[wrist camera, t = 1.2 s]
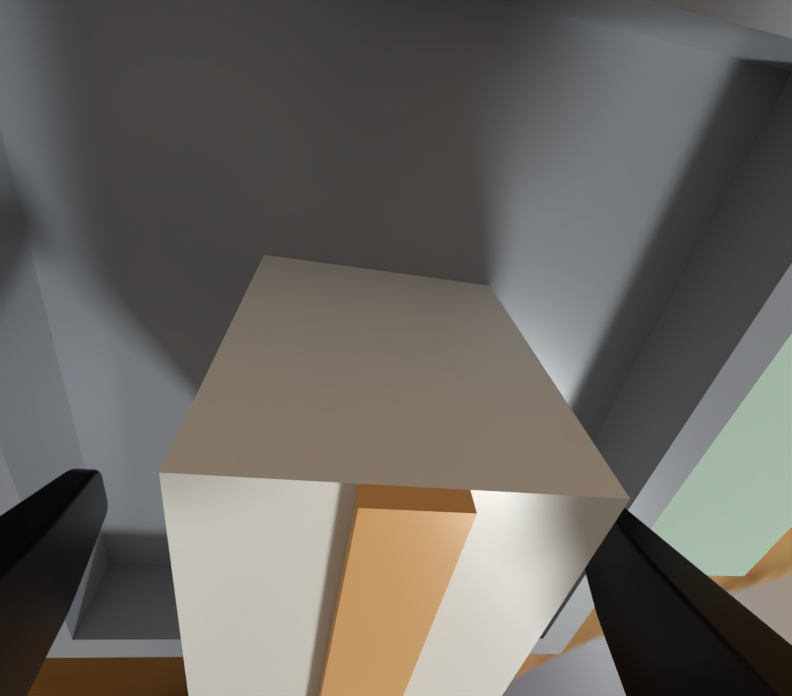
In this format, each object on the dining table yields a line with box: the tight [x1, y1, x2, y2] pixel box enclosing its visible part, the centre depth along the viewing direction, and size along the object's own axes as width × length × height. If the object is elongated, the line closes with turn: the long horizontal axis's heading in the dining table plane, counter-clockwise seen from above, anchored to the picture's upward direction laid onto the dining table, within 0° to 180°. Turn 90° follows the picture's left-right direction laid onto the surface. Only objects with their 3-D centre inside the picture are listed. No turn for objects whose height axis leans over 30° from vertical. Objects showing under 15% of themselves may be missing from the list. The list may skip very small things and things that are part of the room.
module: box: [159, 255, 630, 696], centre depth 9 cm, size 6×5×6 cm
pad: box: [651, 334, 792, 576], centre depth 15 cm, size 14×7×1 cm, turn 170°
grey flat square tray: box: [0, 0, 792, 658], centre depth 11 cm, size 18×17×3 cm
